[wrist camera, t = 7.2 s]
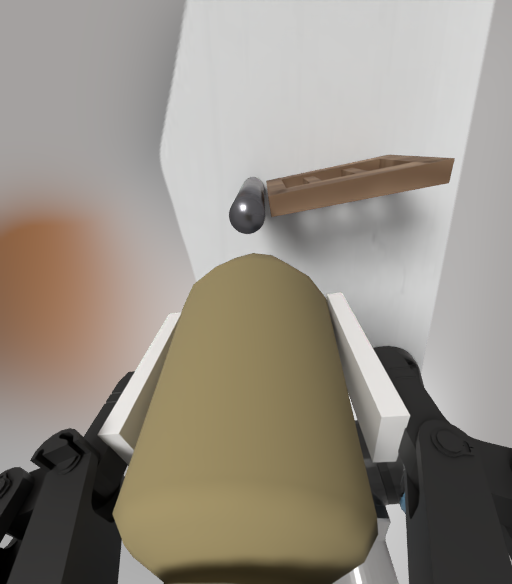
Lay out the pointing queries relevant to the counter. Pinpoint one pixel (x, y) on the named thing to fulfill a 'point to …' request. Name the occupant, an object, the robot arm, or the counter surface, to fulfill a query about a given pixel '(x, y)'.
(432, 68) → the counter surface
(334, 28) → the counter surface
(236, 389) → the squeeze bottle
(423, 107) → the counter surface
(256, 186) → the gate post
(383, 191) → the gate
